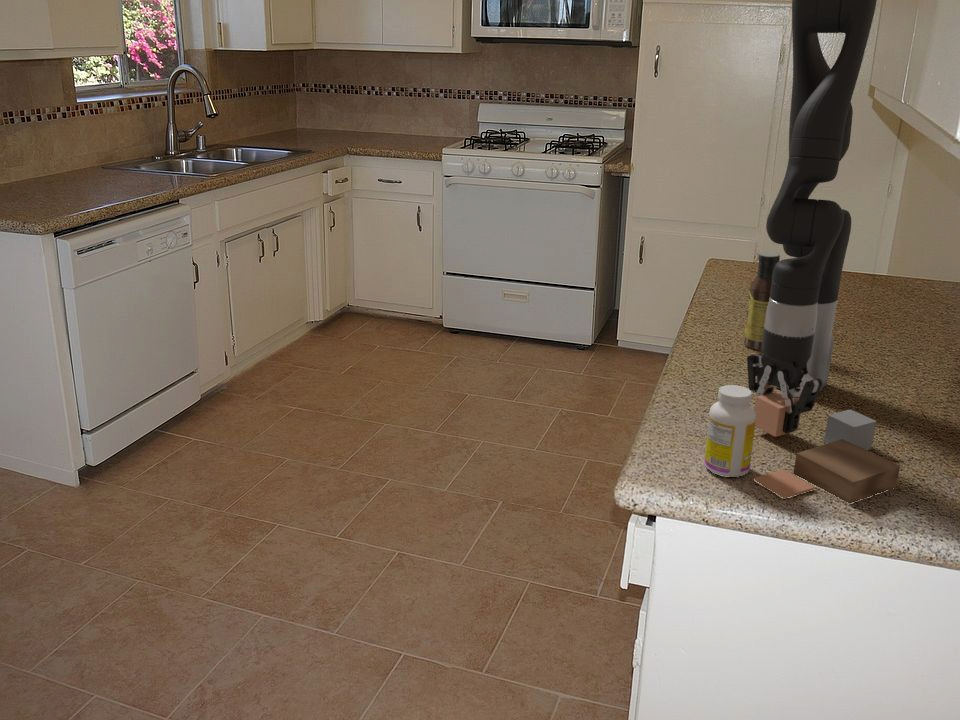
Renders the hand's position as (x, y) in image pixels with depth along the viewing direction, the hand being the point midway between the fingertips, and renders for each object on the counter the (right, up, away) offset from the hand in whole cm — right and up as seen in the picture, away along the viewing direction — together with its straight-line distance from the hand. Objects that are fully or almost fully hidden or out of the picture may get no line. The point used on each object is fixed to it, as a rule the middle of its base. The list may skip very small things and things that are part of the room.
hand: (775, 424), depth 142 cm
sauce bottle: (+10, +13, +40) cm, 44 cm away
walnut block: (+5, -8, -13) cm, 17 cm away
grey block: (+11, -3, -3) cm, 11 cm away
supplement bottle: (-11, -6, -10) cm, 16 cm away
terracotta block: (0, 0, 0) cm, 0 cm away
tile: (-4, -8, -15) cm, 17 cm away
